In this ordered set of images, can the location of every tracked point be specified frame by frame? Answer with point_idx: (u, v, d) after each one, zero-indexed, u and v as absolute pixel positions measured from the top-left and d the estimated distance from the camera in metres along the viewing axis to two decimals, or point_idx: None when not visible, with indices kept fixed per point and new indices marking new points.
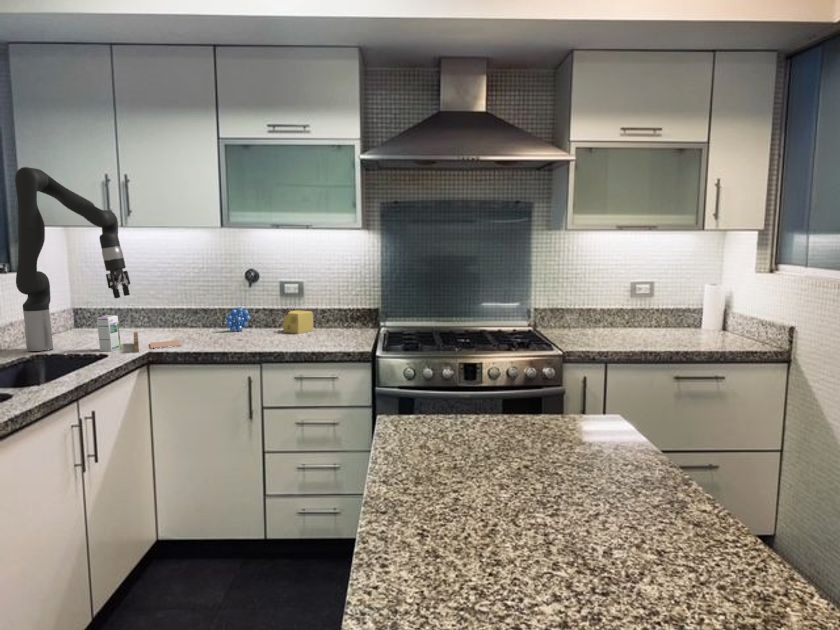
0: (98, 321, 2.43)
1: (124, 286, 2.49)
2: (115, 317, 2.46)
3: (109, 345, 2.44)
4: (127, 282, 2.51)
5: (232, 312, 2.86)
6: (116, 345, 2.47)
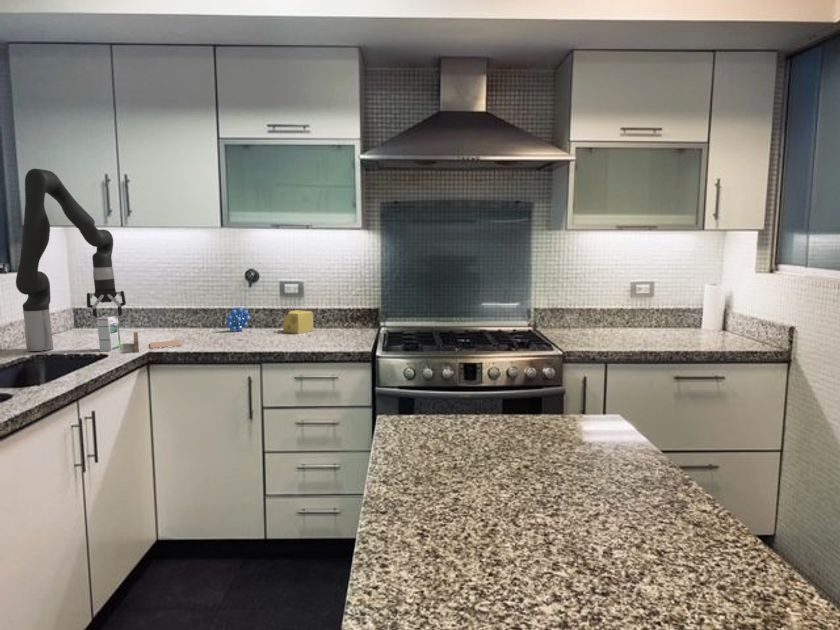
0: (98, 321, 2.43)
1: None
2: (115, 317, 2.46)
3: (109, 346, 2.44)
4: (122, 303, 2.46)
5: (232, 312, 2.86)
6: (116, 345, 2.47)
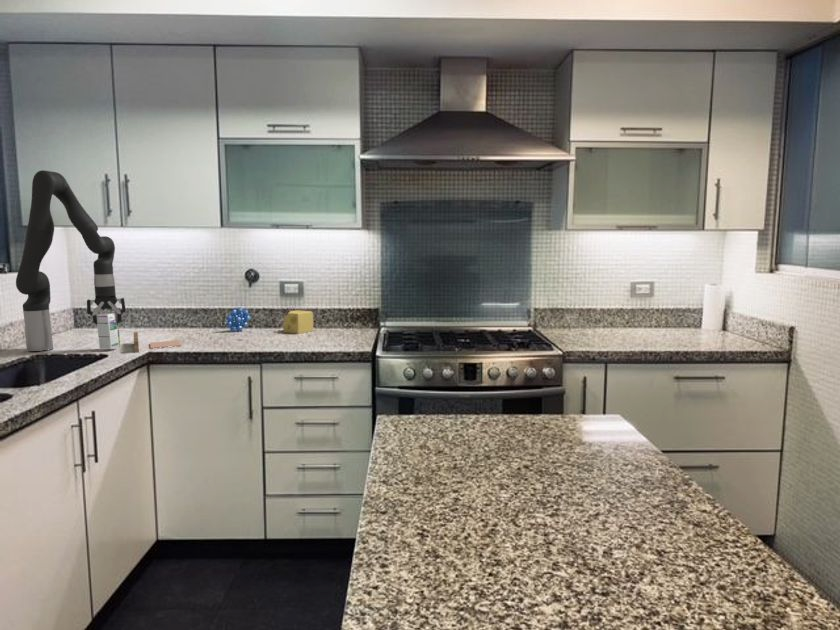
0: (98, 318, 2.43)
1: None
2: (115, 314, 2.46)
3: (109, 343, 2.44)
4: (121, 310, 2.47)
5: (232, 312, 2.86)
6: (116, 342, 2.47)
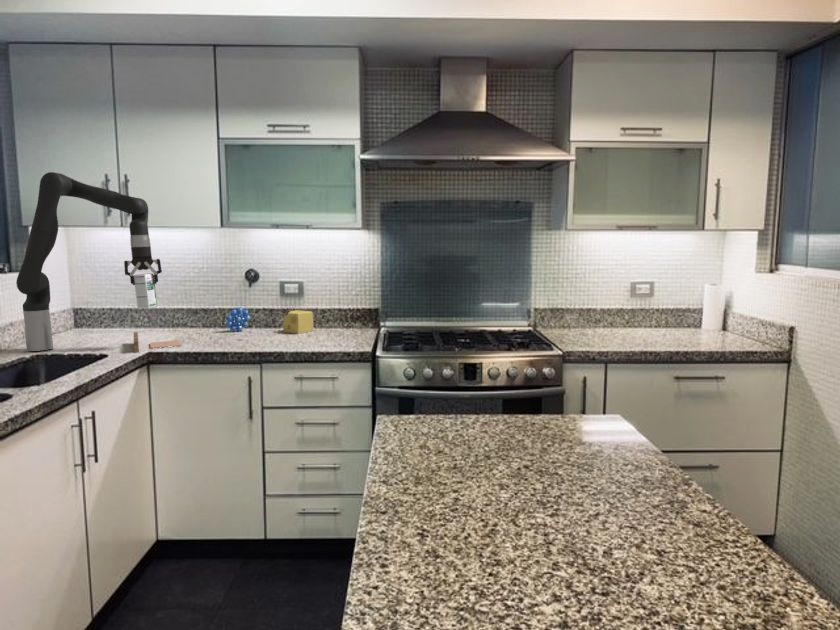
0: (135, 279, 2.47)
1: (154, 274, 2.50)
2: (151, 275, 2.50)
3: (147, 303, 2.47)
4: (158, 270, 2.50)
5: (232, 312, 2.86)
6: (153, 302, 2.50)
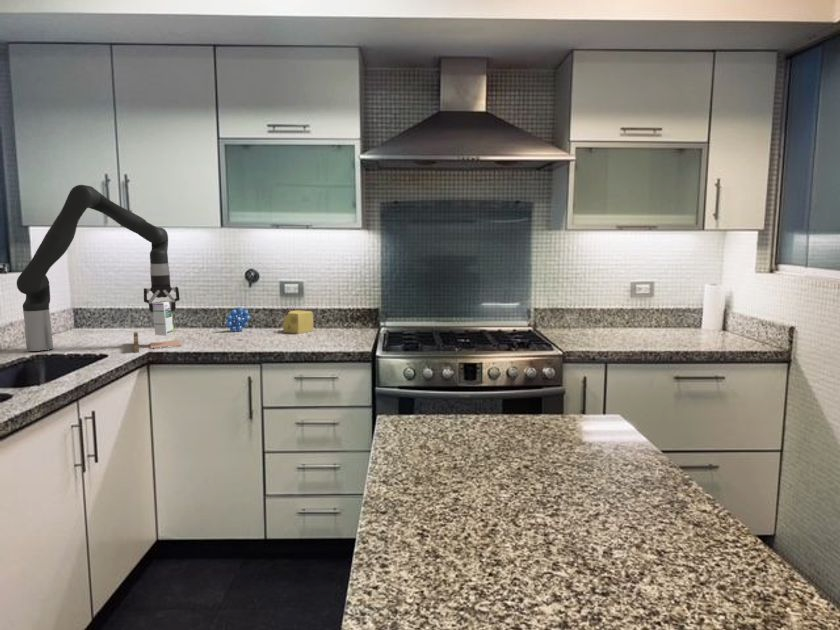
0: (154, 306, 2.51)
1: (172, 301, 2.55)
2: (170, 302, 2.55)
3: (164, 330, 2.52)
4: (176, 298, 2.55)
5: (232, 312, 2.86)
6: (171, 329, 2.55)
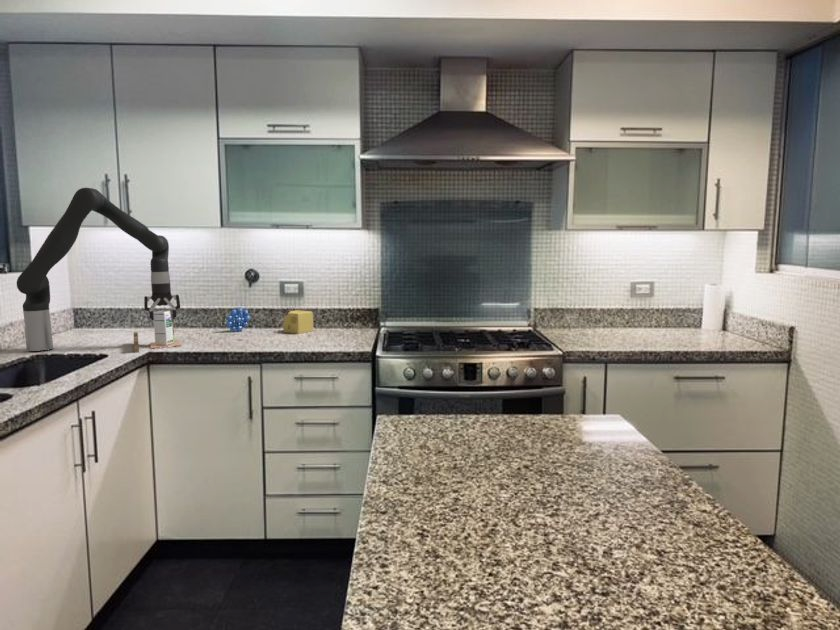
0: (154, 316, 2.52)
1: None
2: (170, 312, 2.55)
3: (165, 339, 2.53)
4: (176, 306, 2.56)
5: (232, 312, 2.86)
6: (171, 339, 2.56)
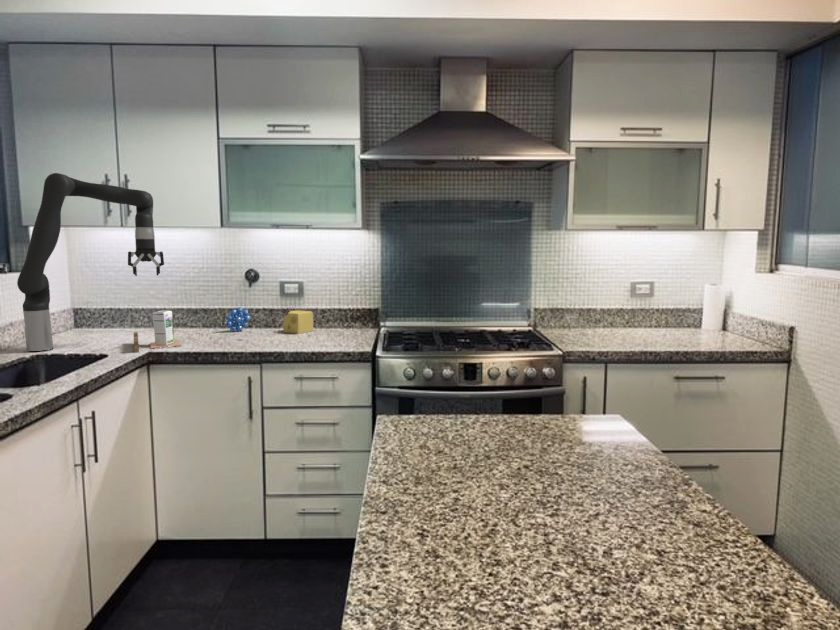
0: (154, 316, 2.52)
1: None
2: (170, 312, 2.55)
3: (165, 339, 2.53)
4: (160, 263, 2.56)
5: (232, 312, 2.86)
6: (171, 339, 2.56)
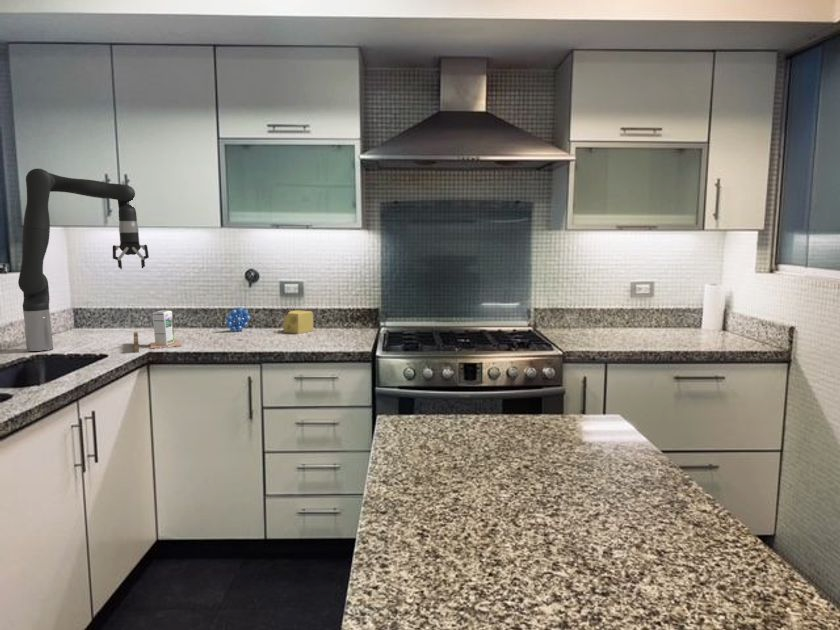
0: (154, 316, 2.52)
1: (141, 259, 2.61)
2: (170, 312, 2.55)
3: (165, 339, 2.53)
4: (145, 256, 2.61)
5: (232, 312, 2.86)
6: (171, 339, 2.56)
